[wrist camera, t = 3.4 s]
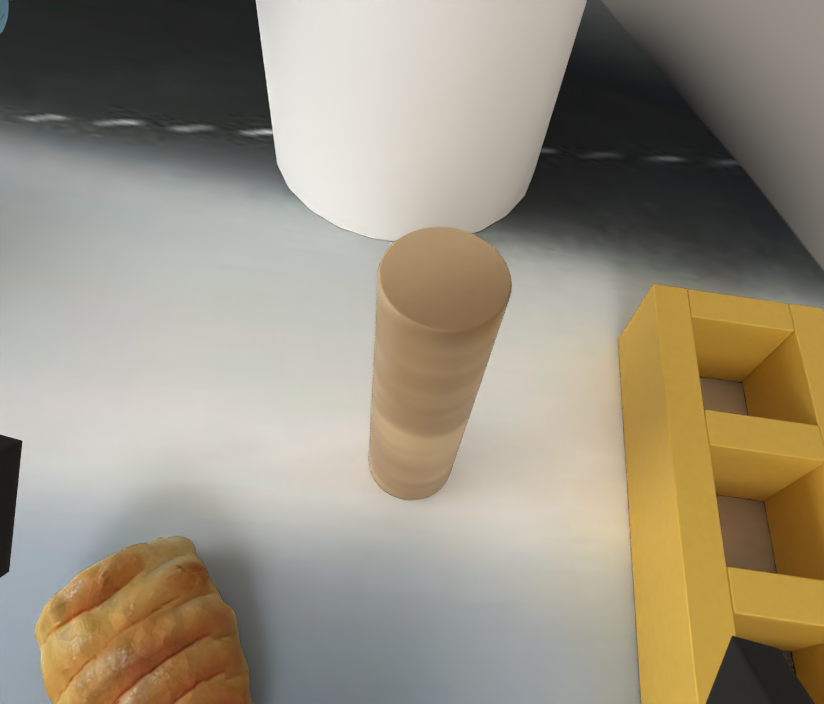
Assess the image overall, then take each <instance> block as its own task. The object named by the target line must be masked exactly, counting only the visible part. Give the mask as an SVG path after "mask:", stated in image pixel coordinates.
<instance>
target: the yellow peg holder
mask: <svg viewBox="0 0 824 704" xmlns="http://www.w3.org/2000/svg"><path fill="white" fill-rule="evenodd" d="M618 346H619V362H620V377H621V393H622V409H623V425H624V440H625V456H626V472H627V487H628V503H629V519H630V534H631V550H632V566H633V581H634V597H635V613H636V629H637V644H638V660H639V676H640V691H641V704H706V701H707V699H708V696H709V694H710V691H711V688H712V686H713V683H714V681H715V678H716V676H717V673H718V670H719V668H720V665H721V663H722V660H723V658H724V655H725V652H726V650H727V647H728V645H729V642H730V640H731V637H732V636H735V637H739V638H743V639H746V640H750V641H753V642H757V643H761V644H764V645H768V646H772V647H775V648H777V649H778V650H783V651H792V656H793V661H794V667H795V672H796V676H797V678H798V679H799V681H800V682H801V684H802V685H803V687H804V688H805V690H806V691H807V693H808V694H809V696H810V697H811V698H812V700H813V701H814V703H815V704H824V313H823V309H822V308H816V307H809V306H802V305H795V304H787V303H781V302H774V301H767V300H760V299H753V298H746V297H739V296H732V295H725V294H719V293H712V292H705V291H698V290H691V289H688V290H687V289H686V288H679V287H672V286H665V285H658V284H653V285H652V287H651V288H650V290H649V292H648V293H647V295H646V296H645V298H644V299H643V301H642V303H641V304H640V306H639V307H638V309H637V310H636V312H635V314H634V315H633V317H632V318H631V320H630V322H629V323H628V325H627V326H626V328H625V329H624V331H623V333H622V334H621V336H620V337H619V339H618ZM699 376H702V377H709V378H716V379H723V380H730V381H737V382H742V383H743V388H744V394H745V399H746V405H747V410H748V415H749V416H747V415H740V414H733V413H726V412H719V411H713V410H704V406H703V399H702V392H701V385H700V378H699ZM716 495H723V496H730V497H737V498H744V499H751V500H758V501H764V503H765V508H766V514H767V519H768V525H769V530H770V536H771V541H772V546H773V552H774V557H775V563H776V568H777V574H776V573H769V572H762V571H755V570H748V569H741V568H735V567H726V561H725V554H724V547H723V540H722V533H721V526H720V519H719V512H718V505H717V498H716Z"/></svg>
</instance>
